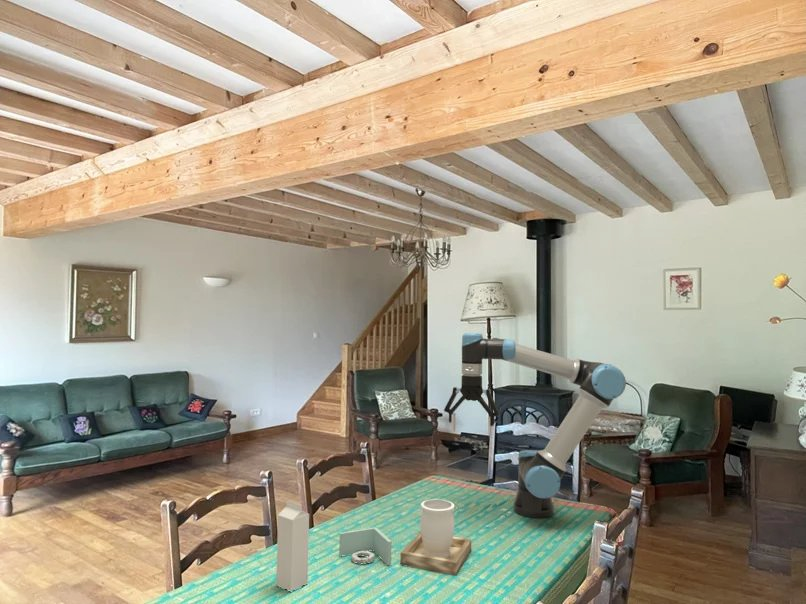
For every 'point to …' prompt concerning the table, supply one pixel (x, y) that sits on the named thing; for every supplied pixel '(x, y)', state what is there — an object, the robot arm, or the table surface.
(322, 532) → the table surface
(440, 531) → the jar
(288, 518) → the milk
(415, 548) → the wooden tray
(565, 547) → the table surface
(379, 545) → the l-shaped corner panel
